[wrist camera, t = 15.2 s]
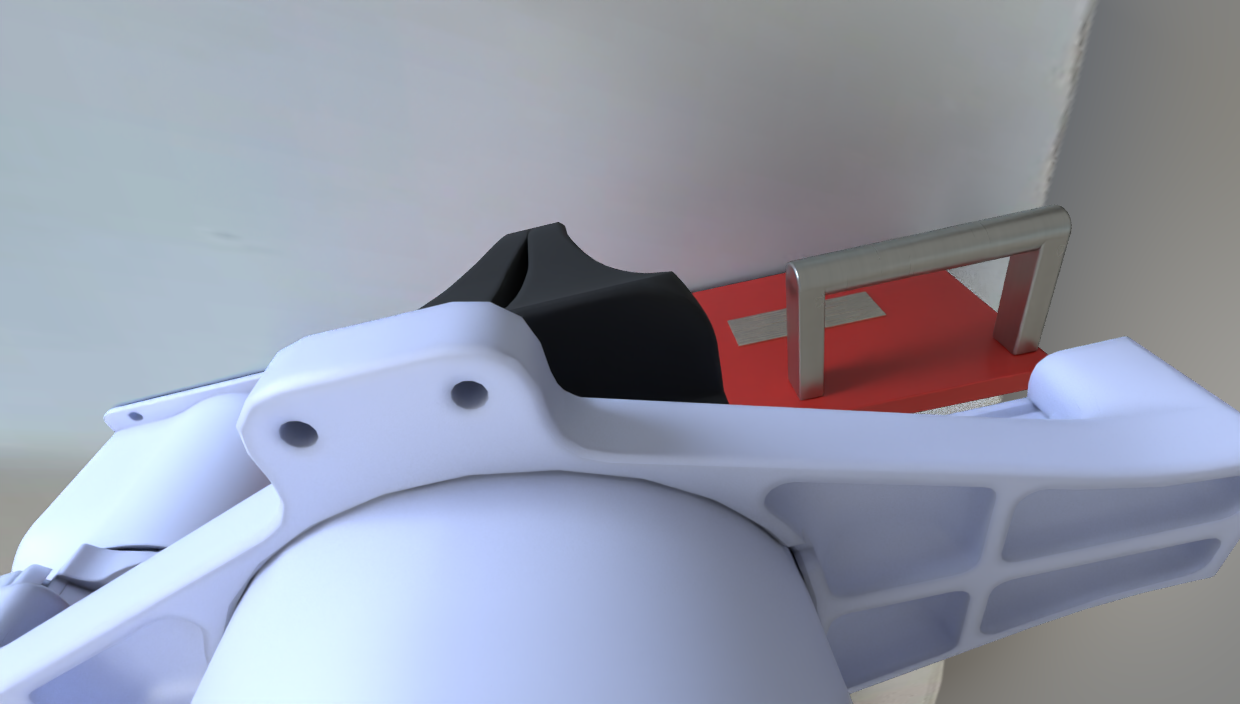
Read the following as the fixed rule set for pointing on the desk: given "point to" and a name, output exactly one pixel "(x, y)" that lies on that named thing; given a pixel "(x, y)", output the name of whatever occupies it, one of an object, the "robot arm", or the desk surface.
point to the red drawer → (892, 320)
